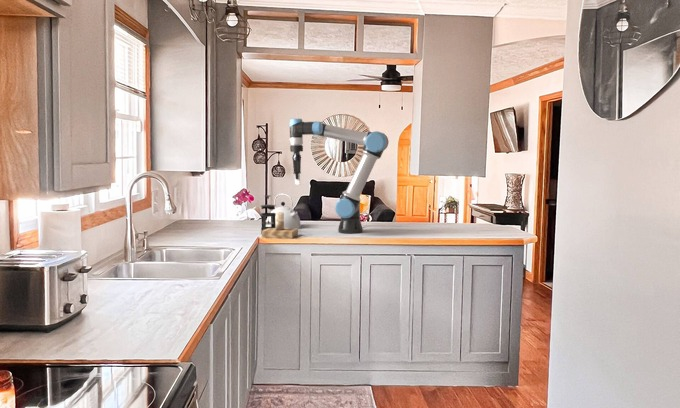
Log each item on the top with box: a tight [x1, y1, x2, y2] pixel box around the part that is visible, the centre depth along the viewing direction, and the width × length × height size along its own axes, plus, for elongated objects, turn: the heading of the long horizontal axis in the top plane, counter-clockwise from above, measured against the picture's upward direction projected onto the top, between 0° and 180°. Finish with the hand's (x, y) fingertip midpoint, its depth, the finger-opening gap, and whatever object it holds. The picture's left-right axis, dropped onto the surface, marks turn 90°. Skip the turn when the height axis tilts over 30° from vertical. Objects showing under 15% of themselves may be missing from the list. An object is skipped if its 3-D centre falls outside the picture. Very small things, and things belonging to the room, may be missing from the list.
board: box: [261, 228, 299, 240], centre depth 327 cm, size 18×14×4 cm
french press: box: [260, 194, 277, 235], centre depth 339 cm, size 12×9×23 cm
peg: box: [276, 212, 284, 231], centre depth 327 cm, size 5×5×14 cm
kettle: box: [266, 193, 302, 230], centre depth 363 cm, size 25×23×22 cm
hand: (297, 184), depth 335 cm, fingers closed
